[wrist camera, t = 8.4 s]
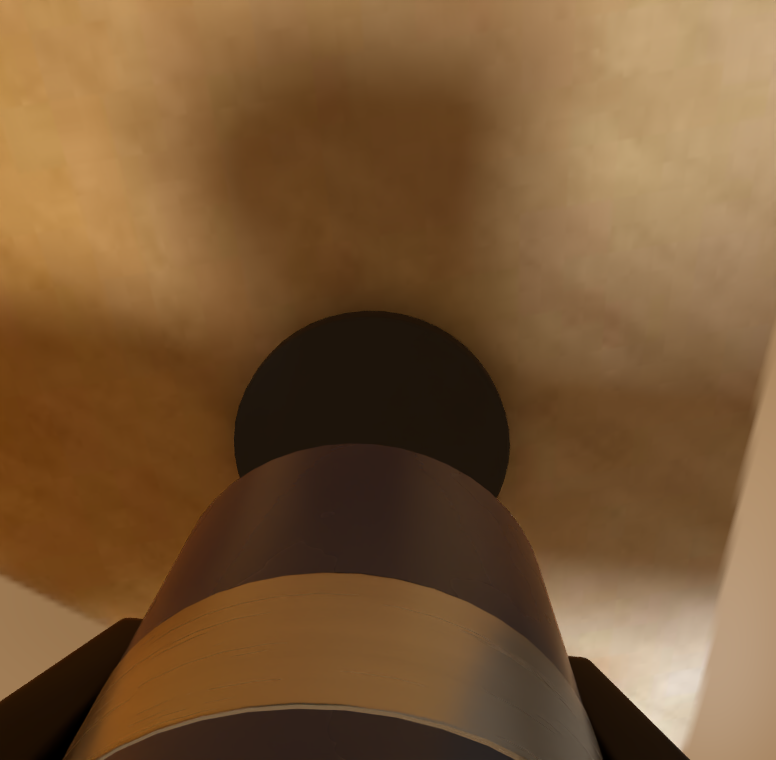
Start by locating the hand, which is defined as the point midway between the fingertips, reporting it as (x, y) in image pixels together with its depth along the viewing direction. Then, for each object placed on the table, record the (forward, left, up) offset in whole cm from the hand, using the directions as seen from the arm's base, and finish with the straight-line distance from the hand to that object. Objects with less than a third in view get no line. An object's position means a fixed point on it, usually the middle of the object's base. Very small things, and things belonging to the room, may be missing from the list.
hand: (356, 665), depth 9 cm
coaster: (0, 0, -7) cm, 7 cm away
